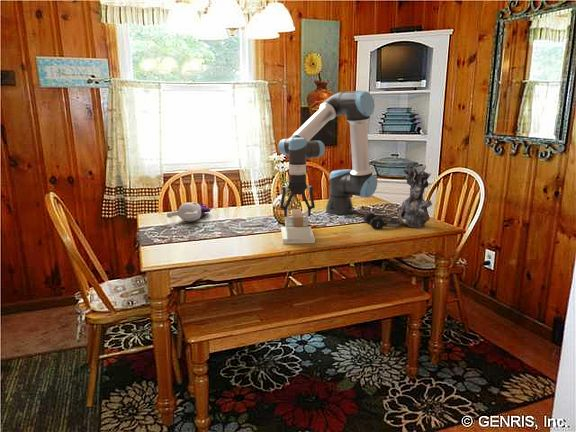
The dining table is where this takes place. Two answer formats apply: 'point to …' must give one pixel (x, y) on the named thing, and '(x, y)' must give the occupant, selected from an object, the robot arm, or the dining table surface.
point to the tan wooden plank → (297, 218)
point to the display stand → (297, 233)
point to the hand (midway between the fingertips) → (297, 223)
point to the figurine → (190, 211)
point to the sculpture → (415, 199)
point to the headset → (380, 221)
